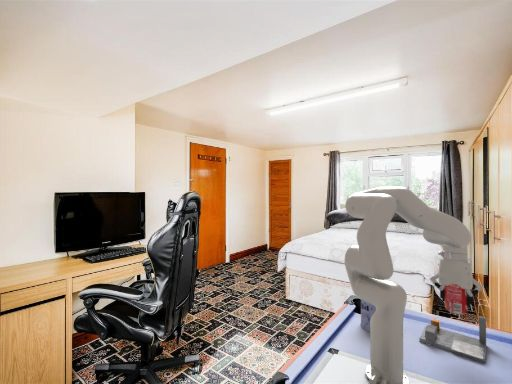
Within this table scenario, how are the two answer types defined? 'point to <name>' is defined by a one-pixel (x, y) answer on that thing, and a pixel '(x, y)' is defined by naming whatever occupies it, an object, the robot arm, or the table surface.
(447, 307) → the soda can
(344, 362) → the table surface
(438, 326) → the ram
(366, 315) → the aerosol can
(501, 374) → the table surface
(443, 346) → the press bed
